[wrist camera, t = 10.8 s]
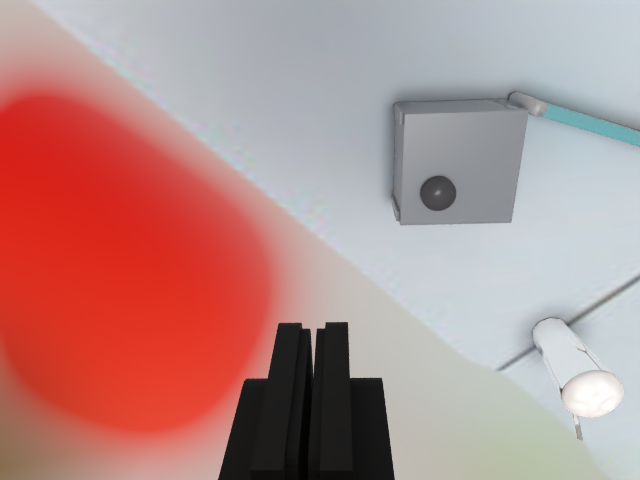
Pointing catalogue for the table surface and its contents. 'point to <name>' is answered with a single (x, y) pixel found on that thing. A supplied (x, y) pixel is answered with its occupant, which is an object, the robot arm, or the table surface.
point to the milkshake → (576, 372)
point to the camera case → (456, 161)
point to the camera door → (575, 118)
